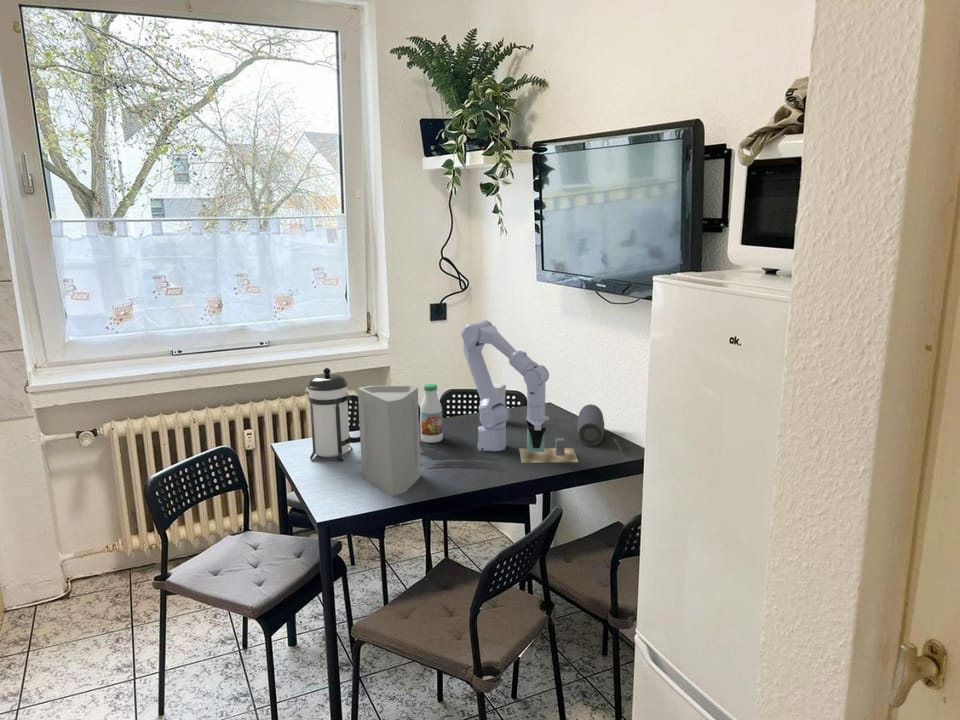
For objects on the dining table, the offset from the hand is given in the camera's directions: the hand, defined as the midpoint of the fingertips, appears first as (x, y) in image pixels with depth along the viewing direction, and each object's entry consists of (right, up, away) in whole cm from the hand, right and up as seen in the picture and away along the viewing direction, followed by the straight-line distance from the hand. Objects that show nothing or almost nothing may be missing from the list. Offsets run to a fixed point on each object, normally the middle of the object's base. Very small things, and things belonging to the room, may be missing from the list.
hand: (535, 444), depth 226 cm
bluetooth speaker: (+21, -1, +22) cm, 30 cm away
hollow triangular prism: (-43, -9, -14) cm, 46 cm away
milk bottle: (-35, -1, +23) cm, 42 cm away
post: (+8, -3, +3) cm, 9 cm away
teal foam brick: (0, -1, 0) cm, 1 cm away
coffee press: (-66, -5, +8) cm, 67 cm away
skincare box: (-13, +3, +42) cm, 44 cm away
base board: (+4, -5, +2) cm, 7 cm away
